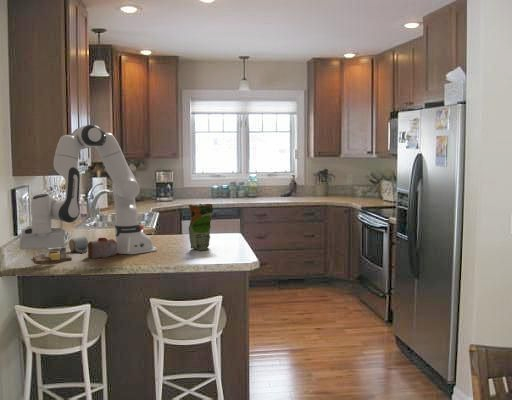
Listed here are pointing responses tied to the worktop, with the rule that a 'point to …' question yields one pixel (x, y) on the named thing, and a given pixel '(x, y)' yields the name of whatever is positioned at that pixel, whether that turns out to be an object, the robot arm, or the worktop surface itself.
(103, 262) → the worktop surface
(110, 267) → the worktop surface
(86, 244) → the ceramic mug
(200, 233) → the pouch
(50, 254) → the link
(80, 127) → the robot arm
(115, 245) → the small brown suitcase
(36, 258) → the base
